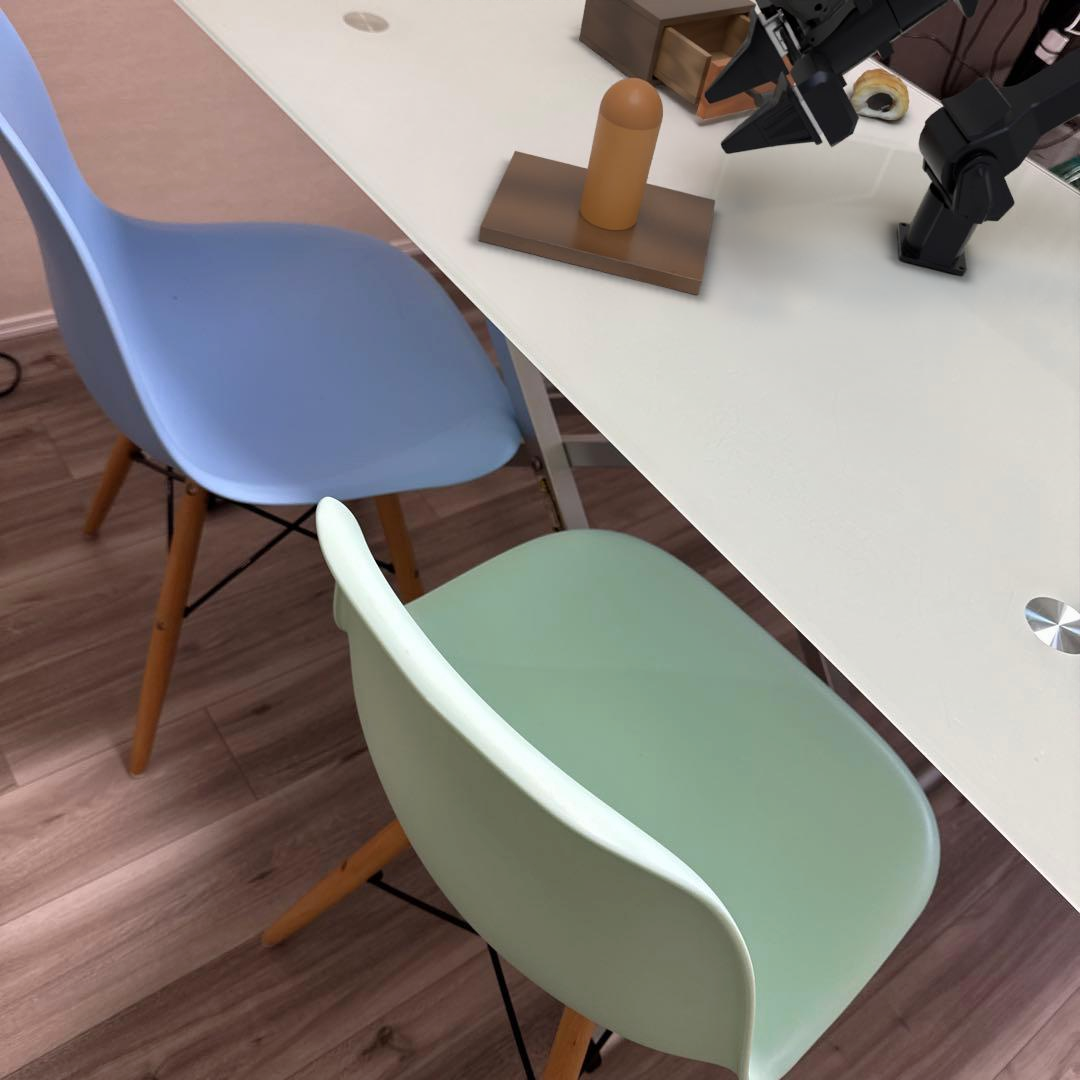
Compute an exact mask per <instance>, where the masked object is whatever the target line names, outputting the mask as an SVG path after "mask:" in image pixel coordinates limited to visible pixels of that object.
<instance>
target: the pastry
mask: <svg viewBox="0 0 1080 1080" xmlns="http://www.w3.org/2000/svg"><path fill="white" fill-rule="evenodd" d="M852 91H853V94H852V96H851V99H850V102H851V104H852V106H853V107H854V109H855V111H856V113H857V115H860V116H864V117H867V118H878V119H879V118H880V119H882V120H884V121H885V120H886V121H897V120H899V119H901V118H902V117H903V116H904V115H905V114H906V113H907V112H908V110H909V104H910V98H909V96H910V95H909V90H908V85H907V84H906V83H904V82H903V80H902V79H901V78H900V77H899V76H897V75H896V74H894V73H890V72H889V71H887V70H885V69H884V68H874V69H867V70H866V71H864V72H863V73H861V75H860V76H859V77H858V78H857V79H856V81H854V83H853V85H852Z"/></svg>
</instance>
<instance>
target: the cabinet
mask: <svg viewBox="0 0 1080 1080" xmlns="http://www.w3.org/2000/svg"><path fill="white" fill-rule="evenodd" d="M752 7H753V8H754V9H755V10H756V7H757V3H756V2H754V1H752V0H585V3H584V7H583V14H582V20H581V26H580V31H579V32H580V33H579V37H578V41H580V42H582V43H583V44H584V45H586V46H587V47H588V48H589V49H591V50H592V51H593V52H595V53H596V54H598V56H600V57H601V58H603V60H605V61H606V62H608V63H609V64H610V65H611V66H613V67H614V68H615V69H617V70H618V71H620V72H621V73H622V74H623V75H624V76H626V77H627V78H638V79H642V80H644V81H646V82H648V83H650V84H651V85H652V86H653V87H654V88H656V87H662V86H667V85H666V84H665V83H663V82H662V81H661V80H659V79H658V78H656V77H655V76H654V75H653V71H654V67H655V62H656V58H657V54H658V50H659V45H660V41H661V37H662V33H663V28H664V26H668V25H674V24H680V23H686V22H692V21H698V20H704V19H710V18H716V17H722V16H728V15H734V14H740V13H742V14H743V15H745V16H746V17H748V18H750V17H751V16H750V11H751V9H752Z"/></svg>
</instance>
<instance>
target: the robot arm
mask: <svg viewBox="0 0 1080 1080" xmlns="http://www.w3.org/2000/svg"><path fill="white" fill-rule="evenodd" d="M754 1H755V4H756V6H757V7H758V9H759V11H760V12H758V13H757V11H756V8H755V9H754V8H753V7H752V9H751V11H750V16H751V17H750V23H749V28H748V33H747V37H746V39H745V41H744V42H743V44H742V45H741V46H740V48H739V49H738V51H737V52H736V53H735V55H734V56H733V57H732V58H731V60H730V61H729V62H728V63H727V65H726V66H725V67H724V68H723V70H722V71H721V72H720V73H719V75H718V76H717V77H716V78H715V80H714V81H713V82H712V83H711V85H710V86H709V87H708V88H707V90H706V91H705V92H704V96H705V98H706V100H707V101H708V103H709V104H712V103H715V102H718V101H721V100H724V99H727V98H730V97H732V96H735V95H737V94H740V93H743V92H745V91H748V90H750V89H753V88H755V87H758V86H760V85H763V84H765V83H768V82H771V81H773V80H776V79H778V78H779V79H778V82H777V85H776V88H775V91H774V94H773V96H772V97H771V99H770V100H768V101H767V102H766V103H765V104H764V105H762V106H761V107H760V108H757V109H756V110H755V111H754V112H753V113H752V114H750V115H749V116H748V117H747V118H746V119H744V120H743V121H742V122H741V123H740V124H739V125H738V126H737V127H735V128H734V129H733V130H732V131H731V132H730V133H729V134H727V136H726V137H725V138H723V140H721V142H720V147H721V148H722V150H723V152H724V153H725V154H726V155H730V154H737V153H743V152H749V151H755V150H760V149H766V148H773V147H779V146H791V145H797V144H798V145H799V144H809V143H814V144H815V145H816V146H820V145H822V144H823V143H824V142H823V139H822V137H821V136H820V135H822V134H823V136H824V137H825V140H826V141H827V143H828V145H829V146H830V148H834V147H835V146H837V145H838V144H840V143H841V142H843V141H844V140H846V139H847V138H849V137H850V136H852V135H853V134H854V133H855V130H856V127H857V124H858V122H859V119H860V117H859V114H857V113H856V111H855V109H854V107H853V106H852V104H851V99H850V98H849V96H848V94H847V93H846V91H845V89H844V88H846V86H848V83H847V81H846V79H845V78H844V75H846V74H848V73H849V72H850V71H852V70H853V69H855V68H856V67H858V66H859V65H861V64H862V63H864V62H865V61H867V60H868V59H869V58H871V57H872V56H874V55H876V53H878V55H879V56H880V58H881V60H882V61H884V60H886V59H888V58H889V57H891V56H892V55H893V54H895V53H896V52H895V50H894V48H893V46H892V44H891V43H893V42H895V40H897V39H898V38H900V37H902V35H904V34H906V33H907V32H909V31H911V30H912V29H913V28H915V27H916V26H917V25H920V23H922V22H923V21H925V20H926V19H928V18H929V17H931V16H932V15H933V14H935V13H936V12H938V11H939V10H941V9H942V8H944V7H945V6H947V5H948V4H949V3H952V1H953V3H954V5H956V7H957V8H958V9H959V10H960V12H961V13H962V14H963V16H964V17H965V18H966V19H971V18H973V17H974V16H975V15H976V12H977V8H978V6H979V2H980V0H754ZM784 55H786V56H787V58H788V60H789V62H790V64H791V65H792V66H793V68H792V69H791V71H790V72H789V70H788V68H787V66H786V64H785V62H784V60H783V58H782V57H783V56H784ZM788 74H791V76H792V78H793V80H794V82H795V83H794V85H796V86H795V87H792V85H791V84H790V82H789V80H788V79H787V77H786V75H788ZM940 104H941V105H942V106H941V107H939V108H937V109H936V110H935V111H934V112H932V113H931V114H930V115H929V116H928V117H927V118H926V120H925V121H924V126H923V128H922V130H921V132H920V133H919V138H918V149H919V152H920V154H921V156H923V158H922V166H921V167H922V168H921V169H922V170H923V172H924V173H926V175H927V177H928V178H929V179H930V181H931V182H930V184H929V186H928V188H927V190H926V192H925V194H924V196H923V198H922V200H921V202H920V204H919V206H918V208H917V210H916V212H915V214H914V216H913V218H912V220H911V221H910V223H908V222H904V221H900V222H899V223H898V225H897V227H896V228H897V240H898V241H897V243H898V255H899V259H900V260H901V261H903V262H907V263H911V264H915V265H920V266H923V267H927V268H932V269H935V270H940V271H944V272H947V273H948V272H949V273H952V274H955V275H959V276H964V275H965V274H966V272H967V269H968V268H967V261H966V255H965V249H966V247H967V245H968V244H969V242H970V240H971V238H972V236H973V235H974V233H975V231H976V230H977V228H978V226H979V225H982V224H983V223H985V222H999V221H1000V220H1002V218H1003V217H1004V216H1005V215H1006V214H1007V213H1008V212H1009V211H1010V210H1011V209H1012V208H1013V207H1014V206H1015V203H1016V202H1015V200H1014V199H1015V198H1014V197H1013V194H1012V192H1011V189H1010V187H1009V185H1008V182H1007V180H1006V177H1007V176H1008V175H1010V174H1012V173H1013V172H1014V171H1015V170H1017V169H1018V168H1020V166H1021V165H1022V163H1023V162H1024V161H1025V160H1026V158H1027V157H1028V155H1029V154H1030V153H1031V151H1032V150H1033V148H1034V147H1035V146H1036V144H1037V143H1038V142H1039V140H1040V139H1041V138H1042V137H1044V135H1046V134H1048V133H1049V132H1051V131H1053V130H1054V129H1056V128H1058V127H1060V126H1062V125H1063V124H1065V123H1067V122H1069V121H1071V120H1072V119H1074V118H1075V117H1078V116H1080V47H1079V48H1078V49H1076V50H1074V51H1073V52H1071V53H1069V54H1067V55H1066V56H1065V57H1062V58H1061V59H1059V60H1056V61H1055V62H1054V63H1052V64H1051V65H1048V66H1047V67H1046V68H1043V69H1042V70H1040V71H1039V72H1037V73H1035V74H1033V75H1031V76H1030V77H1029V78H1027V79H1026V80H1024V81H1021V82H1020V83H1017V84H1015V85H1011V86H1003V87H996V86H995V84H994V83H993V81H992V80H991V79H990V78H989V77H988V76H983V77H982V78H979V79H977V80H975V81H974V82H973V83H971V84H970V85H969V86H968V87H966V88H965V89H964V90H962V91H961V92H959V93H957V94H955V95H953V96H949V97H946V98H943V99H941V100H940Z"/></svg>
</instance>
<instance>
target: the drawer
mask: <svg viewBox="0 0 1080 1080" xmlns="http://www.w3.org/2000/svg"><path fill="white" fill-rule="evenodd" d="M749 23H750V18H748V17H746V16H745V15H743V14H742V13H740V14H734V15H728V16H722V17H716V18H710V19H704V20H698V21H692V22H686V23H680V24H674V25H668V26H664V28H663V33H662V37H661V41H660V45H659V50H658V54H657V58H656V62H655V67H654V71H653V75H654V76H655V77H656V78H658V79H659V80H661V81H662V82H663V83H665V84H666V85H665V86H667V87H668V88H670V89H671V90H673V91H674V92H675V93H676V94H678V95H679V96H681V97H682V98H683V99H685V100H686V101H688V102H689V103H690V104H692V105H693V106H697V105H698V108H697V111H696V117H699V118H700V119H701V120H702V121H705V120H709V119H714V118H719V117H722V116H727V115H731V114H736V113H739V112H740V113H741V112H744V111H749V110H753V109H759V108H760V107H761V106H762V105H764V104H765V103H766V102H767V101H768V100H770V99H771V97H772V96H773V94H774V91H775V88H776V85H777V82H778V79H779V78H778V79H776V80H773V81H771V82H768V83H765V84H763V85H760V86H758V87H755V88H753V89H750V90H748V91H745V92H743V93H740V94H737V95H735V96H732V97H730V98H727V99H724V100H721V101H718V102H715V103H712V104H709V103H708V101H707V100H706V98H705V96H704V92H705V91H706V90H707V88H708V87H709V86H710V85H711V83H712V82H713V81H714V80H715V78H716V77H717V76H718V75H719V73H720V72H721V71H722V70H723V68H724V67H725V66H726V65H727V63H728V62H729V61H730V60H731V58H732V57H733V56H734V55H735V53H736V52H737V51H738V49H739V48H740V46H741V45H742V44H743V42H744V41H745V39H746V37H747V33H748V28H749ZM782 58H783V60H784V62H785V64H786V66H787V68H788V70H789V72H790V71H791V69H792V68H793V66H792V65H791V64H790V62H789V60H788V58H787V56H786V55H784V56H783V57H782ZM786 77H787V79H788V80H789V82H790V84H791V85H792V87H795V86H796V84H795V82H794V80H793V78H792V76H791V74H788V75H786Z"/></svg>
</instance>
